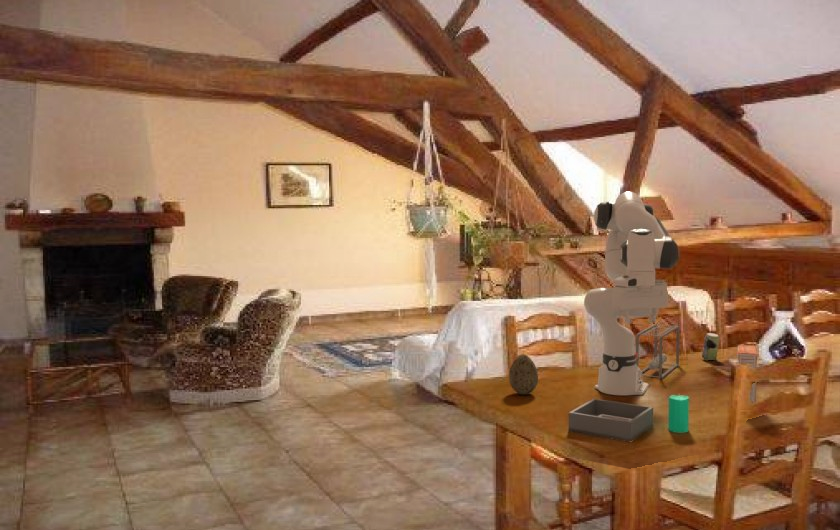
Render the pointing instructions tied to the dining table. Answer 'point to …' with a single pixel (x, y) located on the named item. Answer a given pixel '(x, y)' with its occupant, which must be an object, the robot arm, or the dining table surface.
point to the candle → (678, 413)
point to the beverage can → (710, 346)
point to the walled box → (611, 419)
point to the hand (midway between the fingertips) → (640, 322)
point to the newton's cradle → (661, 357)
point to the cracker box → (749, 357)
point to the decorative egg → (523, 375)
